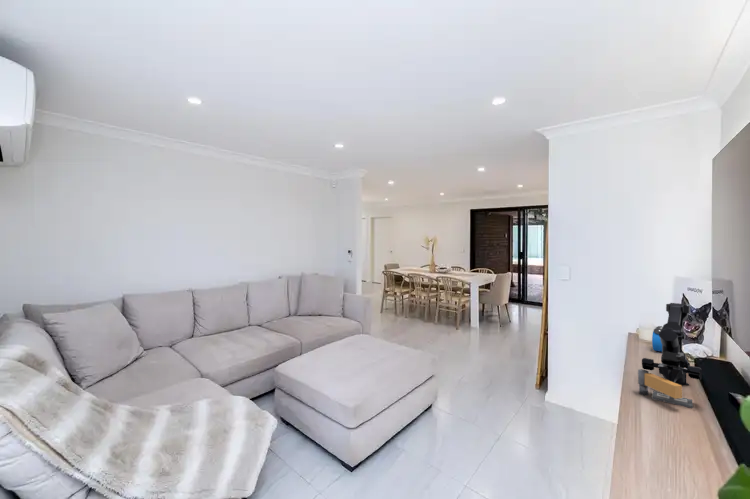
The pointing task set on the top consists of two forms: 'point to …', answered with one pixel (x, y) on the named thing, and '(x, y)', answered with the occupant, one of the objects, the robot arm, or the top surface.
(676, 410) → the top surface
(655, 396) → the label plate
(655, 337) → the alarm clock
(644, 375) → the swing bar
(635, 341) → the top surface
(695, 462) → the top surface
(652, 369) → the robot arm
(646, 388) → the grey grooved cylinder
